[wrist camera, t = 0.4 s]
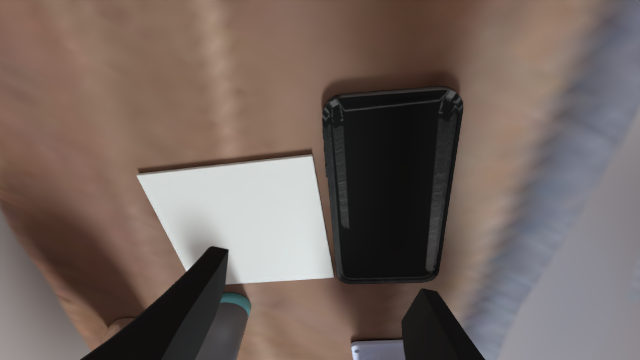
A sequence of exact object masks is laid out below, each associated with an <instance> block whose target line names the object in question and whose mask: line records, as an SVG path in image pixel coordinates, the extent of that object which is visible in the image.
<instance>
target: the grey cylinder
mask: <svg viewBox="0 0 640 360" xmlns="http://www.w3.org/2000/svg"><path fill="white" fill-rule="evenodd" d="M250 309H251V303H250V302H249V300H248V299H247V298H246V297H244V296H242V295H240V294H237V293H223V295H222V298H221V301H220V304H219V307H218V310H217V313H216V315H215V318H214V320H213V322H212V324H211V326H210V329H209V331H208V333H207V335H206V337H205V340H204V342H203V344H202V346H201V348H200V351H199V353H198V355H197V357H196V359H195V360H237V356H238V352H239V349H240V345H241V342H242V338H243V335H244V331H245V327H246V324H247V320H248V317H249V313H250Z"/></svg>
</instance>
